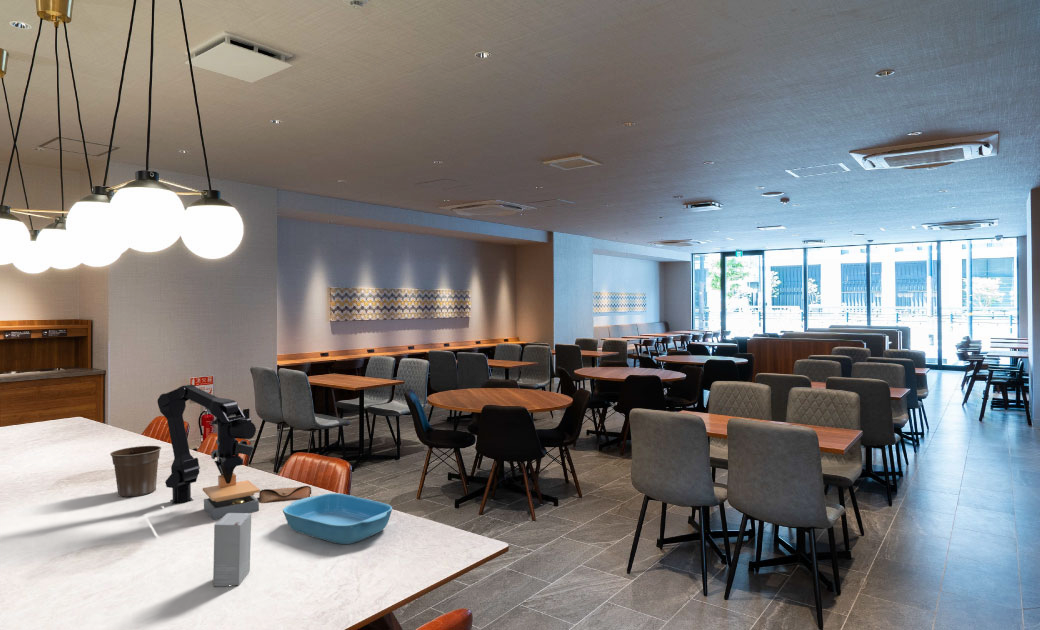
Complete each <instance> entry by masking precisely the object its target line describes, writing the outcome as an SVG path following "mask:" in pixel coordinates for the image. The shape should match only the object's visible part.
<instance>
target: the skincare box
mask: <svg viewBox="0 0 1040 630" xmlns="http://www.w3.org/2000/svg"><path fill="white" fill-rule="evenodd" d="M213 526H214V527H213V529H214V530H213V532H214V534H213V536H214V537H213V572H212V573H213V577H212V586H213V587H214V586H217V587H230V586H229V585H239V586H240V585H241V584H242V582H243V581H244V579H246V577H247V576H248V575H249V573H250V571H251V541H252V539H251V538H252V534H251V533H252V512H250V513H227V514H226V515H225V516H224V517H222V518H221V519H218V521H217V522H215V524H214V525H213Z"/></svg>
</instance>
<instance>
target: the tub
mask: <svg viewBox="0 0 1040 630" xmlns="http://www.w3.org/2000/svg"><path fill="white" fill-rule="evenodd" d="M239 499H243V500H245V503H240V504H235V505H232V501H234V500H239ZM259 505H260V502H259V499H258V498H257V497H256V496H254V495H251V496H246V497H240V498H235V499H230V500H224V501H219V502H216V501H215V500H214V501H212V500H211V499H210V498H209V497H208V498H204V499H203V510H204V511H205V512H206V514H208V516H209V517H210V518H211V519H212V520H214V521H216V520H220V519H221V518H222V517H224V516H225V515H226V514H227V513H254V512H259V511H260V506H259Z"/></svg>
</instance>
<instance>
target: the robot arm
mask: <svg viewBox="0 0 1040 630" xmlns="http://www.w3.org/2000/svg"><path fill="white" fill-rule="evenodd" d="M189 400H190V401H192V402H193V403H196V404H198V405H199V406H201V407H203V408H206V409H207V410H208V411H209V413H210V414H211V415H212V416H213V417H215V419H214V420H213V421H212V423H211V424H212V425H216V426H217V427H216V428H217V429H216V430H217V431H216V432H217V433H216V435H217V437H216V438H217V440H215V444H217V448H216V449H214V450H212V451H211V453H210V455H211V458H210V459H212V460H214V464H215V465H216V467H217V469H218V472H219V473H220V474H219V475H223V476H224V479H225V481H226V483H227V484H229V483H230V482H231V478H232V474H233V473H234V472H235V468H236V467H238V466H240V467H241V466H243V465H244V458H243V457H241V456H240V454H241V455H246V456H248V457H252V454H253V451H254V449H255V447H254V446H253V445H252V444H248V441H247V440H251V439H253V438H254V437H255V435H256V431H257V426H256V425H255V424H254V422H252V419H251V418H246V416H245V415H244V413H243V411H242V409H241V408H240V406H239V404H238V402H237V401H236V400H233V399H230V398H226V397H225V398H222V397H217V396H215V395H214V394H212V393H210V392H207V391H205V390H203V389H201V388H199V387H197V386H196V385H194V384H186V385H181V386H179V387H178V388H176V389H174V390H171V391H169V392H166V393H161V394H160V395H159V397H158V398H157V405H158V409H159V412H160V413H161V415H163V416H164V417H165V418H166V420H167V426H168V427H167V428H168V431H169V437H170V441H171V442H170V443H171V447H172V453H173V458H174V459H173V460H172V464H171V466H170V471H171V474H170V475H169V476H168V477H167V478H166V480H165V481H164V483H165V486H166V488H170V489H172V494H171V495H172V498H171V499H170V500H169V501H170V503H171V504H172V505H178V504H183V503H188V502H189V503H190V502H193V501H194V499H193V498H192V497H191V496H192V491H191V488H192V486H191V484H192V483H196V482H197V480H198V477H199V474H200V469H201V467H200V464H199V459H198V457H193V455H192V454H191V451H190V447H189V442H188V441H189V440H188V436H187V431H186V427H185V422H184V412H185V410H186V407H187V406H186V402H187V401H189ZM239 439H240V442H239ZM241 439H242V440H241Z"/></svg>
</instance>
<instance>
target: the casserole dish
mask: <svg viewBox="0 0 1040 630" xmlns="http://www.w3.org/2000/svg"><path fill="white" fill-rule="evenodd" d="M392 510H393V507H392V505H390V504H388V503H384V502H380V501H376V500H372V499H368V498H365V497H364V498H363V497H359V496H354V495H350V494H344V493H337V492H336V493H335V492H333V493H323V494H320V495H315V496H311V497H307V498H304V499H300V500H294V501H293V502H291V503H290V504H289V505H287V506H285V507H283V509H282V512H283V515H284V516H285V520H286V522H287V524H288V526H289V527H290V529H291V530H293V531H295V532H297V533H299V532H300V534H302V533H303V535H305V534H306V535H305V536H309V537H312V536H313V537H312V538H317V539H319V538H320V540H322V539H323V541H326V540H327V542H330V543H334V544H340V545H350V544H354V543H357V542H360V541H363V540H366V539H367V538H369V537H371V536H372V537H373V536H374V535H376V534H379V533H380V532H382V531H383V530H384V529H385V528H386V527H387V525H388V523H389V521H390V517H391V514H392Z"/></svg>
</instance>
